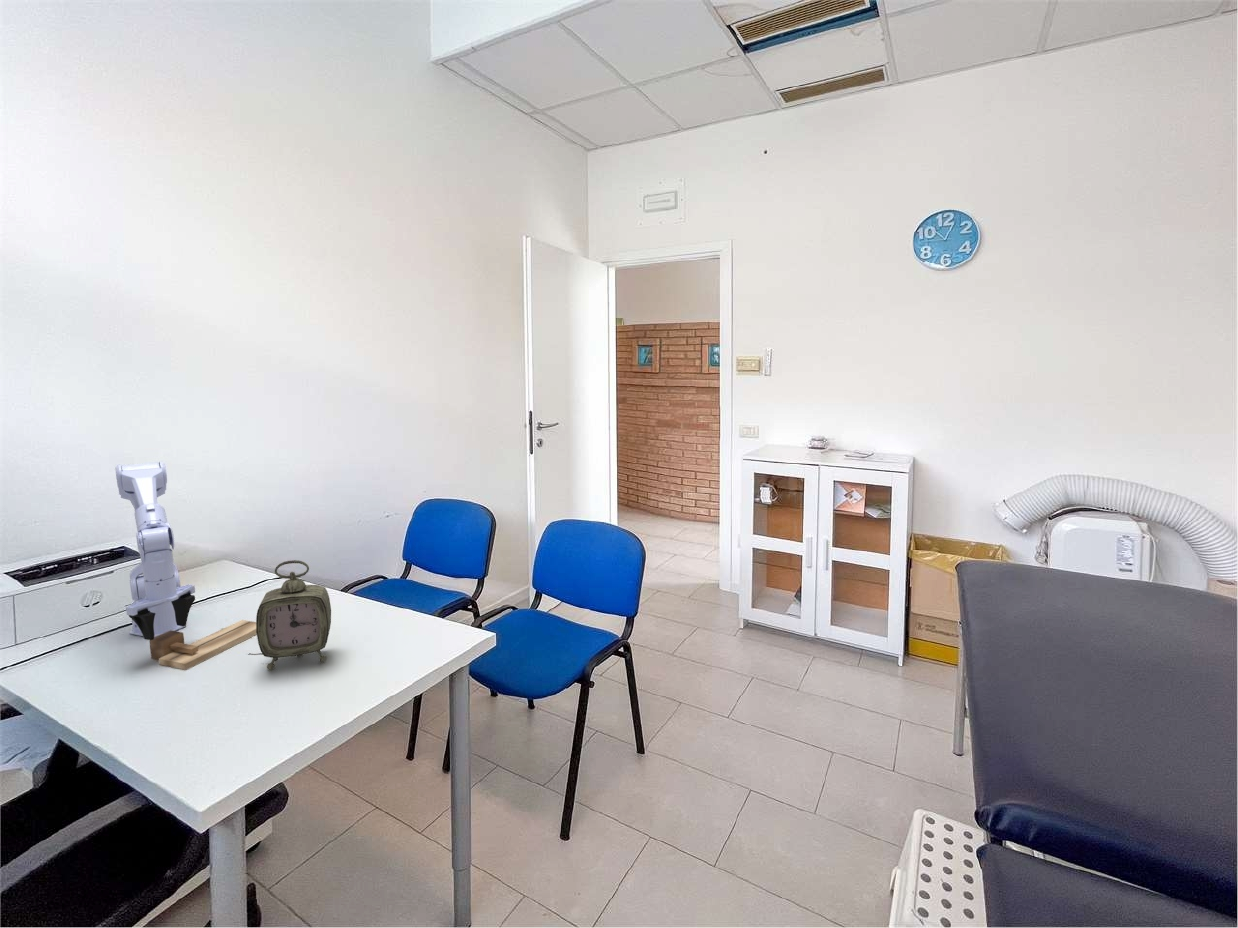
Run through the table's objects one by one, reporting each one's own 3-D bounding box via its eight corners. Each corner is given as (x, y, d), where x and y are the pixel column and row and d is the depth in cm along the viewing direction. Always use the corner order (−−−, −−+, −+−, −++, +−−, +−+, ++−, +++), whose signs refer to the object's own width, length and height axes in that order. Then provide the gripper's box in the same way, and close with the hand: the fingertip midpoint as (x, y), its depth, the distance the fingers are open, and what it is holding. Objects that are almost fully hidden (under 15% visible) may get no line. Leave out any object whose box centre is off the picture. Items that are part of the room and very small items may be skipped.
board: (159, 664, 134) (158, 658, 134) (243, 625, 155) (242, 619, 155) (185, 669, 132) (185, 663, 132) (267, 629, 153) (266, 623, 153)
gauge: (151, 658, 137) (149, 639, 136) (172, 649, 142) (170, 630, 141) (185, 665, 134) (183, 645, 133) (205, 655, 139) (204, 636, 138)
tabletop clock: (260, 675, 131) (250, 569, 126) (267, 656, 139) (259, 557, 135) (331, 664, 136) (324, 563, 132) (334, 647, 144) (328, 551, 140)
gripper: (139, 590, 128) (146, 648, 130) (202, 569, 141) (207, 621, 144) (116, 586, 129) (123, 643, 132) (180, 566, 143) (185, 618, 145)
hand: (165, 632), depth 138 cm, fingers open, 7 cm apart
